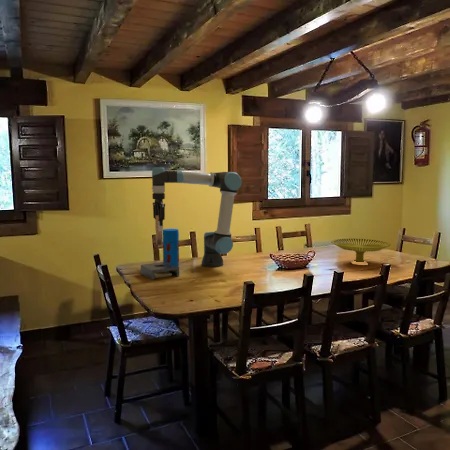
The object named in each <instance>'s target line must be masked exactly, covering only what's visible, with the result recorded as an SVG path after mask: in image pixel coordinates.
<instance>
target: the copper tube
mask: <svg viewBox="0 0 450 450" xmlns="http://www.w3.org/2000/svg"><path fill="white" fill-rule="evenodd" d="M158 220H159V215H156V230H155V244H156V245H157V246H158V245H159V246H160V245H161V246H163V231H158Z"/></svg>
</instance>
